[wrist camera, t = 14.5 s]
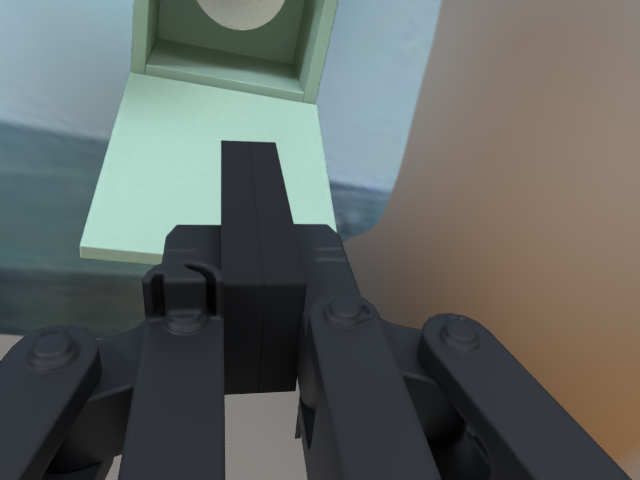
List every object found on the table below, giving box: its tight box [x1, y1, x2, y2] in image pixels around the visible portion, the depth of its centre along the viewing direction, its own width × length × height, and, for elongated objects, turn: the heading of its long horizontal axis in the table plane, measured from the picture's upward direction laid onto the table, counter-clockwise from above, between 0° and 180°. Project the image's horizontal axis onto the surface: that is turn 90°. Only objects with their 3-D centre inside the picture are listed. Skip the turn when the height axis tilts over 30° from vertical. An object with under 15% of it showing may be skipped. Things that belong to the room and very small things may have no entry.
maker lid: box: [80, 72, 337, 265], centre depth 27 cm, size 13×11×1 cm
